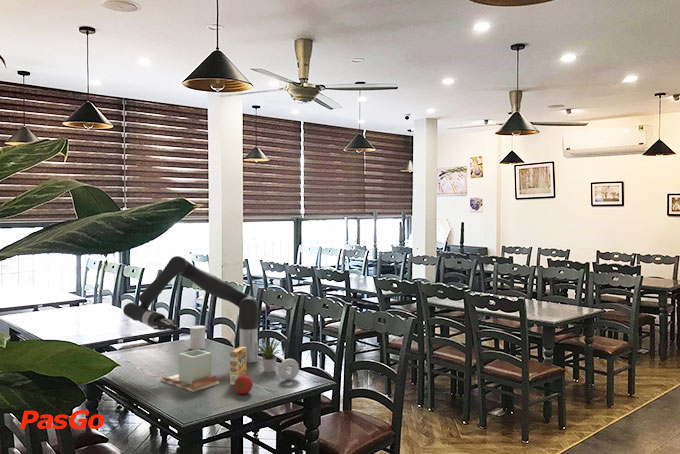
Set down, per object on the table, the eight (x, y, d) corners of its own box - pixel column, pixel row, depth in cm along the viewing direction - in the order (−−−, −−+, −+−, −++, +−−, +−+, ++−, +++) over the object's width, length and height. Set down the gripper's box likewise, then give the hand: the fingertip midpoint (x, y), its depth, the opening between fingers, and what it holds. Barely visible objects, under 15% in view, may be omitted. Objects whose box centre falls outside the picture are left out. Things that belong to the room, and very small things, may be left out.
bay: (160, 380, 249) (160, 372, 249) (186, 373, 260) (186, 365, 260) (193, 391, 234) (193, 382, 234) (218, 383, 245) (218, 375, 245)
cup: (187, 348, 308) (187, 327, 308) (196, 345, 316) (196, 325, 315) (199, 350, 305) (199, 328, 305) (207, 346, 312) (207, 326, 312)
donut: (279, 382, 248) (279, 360, 248) (277, 380, 251) (277, 358, 251) (300, 379, 253) (300, 358, 252) (297, 377, 256) (297, 356, 255)
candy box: (237, 385, 243) (237, 351, 243) (229, 384, 244) (229, 350, 244) (247, 379, 252) (247, 347, 251) (238, 379, 253) (238, 346, 253)
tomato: (248, 370, 237) (238, 371, 230) (259, 384, 233) (248, 385, 227) (237, 383, 238) (226, 385, 231) (247, 397, 235) (237, 399, 228)
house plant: (282, 365, 277) (282, 333, 276) (288, 372, 263) (289, 339, 263) (254, 367, 272) (254, 334, 272) (259, 375, 259) (259, 341, 259)
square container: (178, 381, 244) (178, 353, 244) (197, 376, 252) (197, 349, 252) (192, 386, 238) (192, 357, 238) (211, 380, 246) (211, 352, 245)
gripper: (142, 315, 259) (164, 324, 249) (165, 309, 270) (188, 317, 260) (141, 330, 260) (164, 339, 250) (165, 323, 271) (187, 332, 261)
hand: (176, 328), depth 255 cm, fingers closed
